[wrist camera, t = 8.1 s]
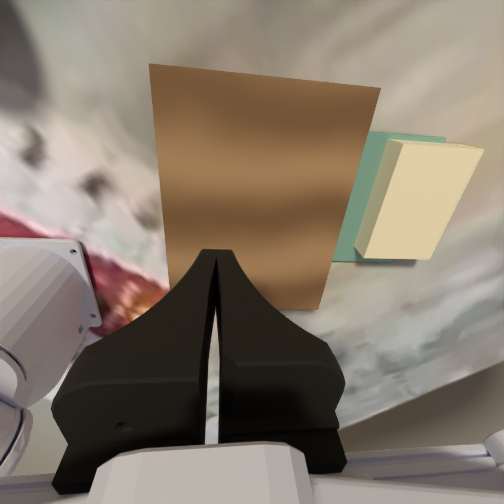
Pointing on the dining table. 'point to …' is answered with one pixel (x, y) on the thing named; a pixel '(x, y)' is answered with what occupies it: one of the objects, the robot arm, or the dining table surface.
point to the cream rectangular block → (414, 197)
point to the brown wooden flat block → (258, 173)
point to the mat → (366, 193)
